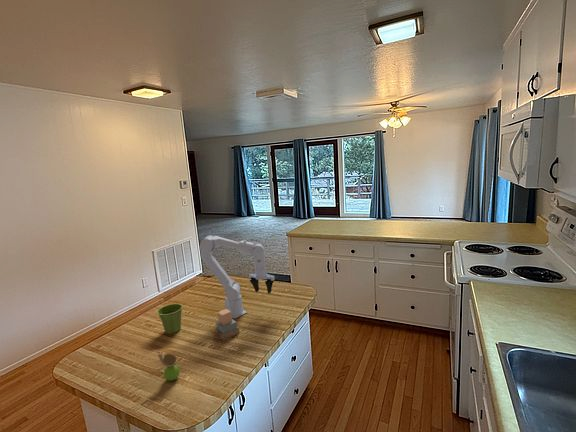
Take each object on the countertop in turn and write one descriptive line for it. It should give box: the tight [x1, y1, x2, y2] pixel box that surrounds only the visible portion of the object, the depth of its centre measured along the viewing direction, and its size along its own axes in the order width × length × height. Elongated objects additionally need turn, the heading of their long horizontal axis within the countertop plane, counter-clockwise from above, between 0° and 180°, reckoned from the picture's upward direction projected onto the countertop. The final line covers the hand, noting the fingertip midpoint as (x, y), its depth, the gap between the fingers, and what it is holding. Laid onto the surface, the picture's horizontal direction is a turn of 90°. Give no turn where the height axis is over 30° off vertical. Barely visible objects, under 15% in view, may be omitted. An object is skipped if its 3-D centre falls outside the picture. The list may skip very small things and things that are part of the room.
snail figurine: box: [157, 350, 180, 382], centre depth 113 cm, size 5×6×12 cm
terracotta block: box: [217, 308, 233, 325], centre depth 141 cm, size 4×4×5 cm
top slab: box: [215, 318, 238, 334], centre depth 141 cm, size 7×7×3 cm
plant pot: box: [156, 303, 184, 335], centre depth 149 cm, size 12×12×11 cm
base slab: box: [214, 326, 240, 341], centre depth 142 cm, size 8×8×3 cm
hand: (263, 292), depth 159 cm, fingers open, 7 cm apart
